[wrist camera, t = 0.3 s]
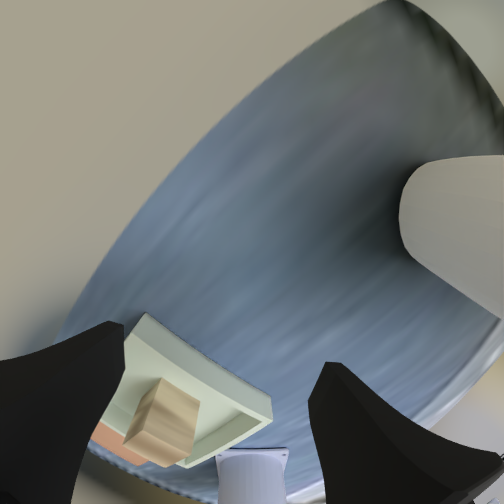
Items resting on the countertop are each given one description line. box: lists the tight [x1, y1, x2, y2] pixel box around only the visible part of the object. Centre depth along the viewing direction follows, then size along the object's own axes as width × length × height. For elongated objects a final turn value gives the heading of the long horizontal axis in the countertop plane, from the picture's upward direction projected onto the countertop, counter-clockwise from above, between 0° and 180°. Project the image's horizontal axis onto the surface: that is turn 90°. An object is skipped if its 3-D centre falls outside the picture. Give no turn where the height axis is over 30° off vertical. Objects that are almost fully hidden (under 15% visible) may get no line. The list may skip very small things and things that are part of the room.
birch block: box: [122, 378, 200, 468], centre depth 18 cm, size 4×4×6 cm
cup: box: [399, 155, 504, 320], centre depth 10 cm, size 8×8×14 cm
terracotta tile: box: [90, 421, 149, 466], centre depth 23 cm, size 9×9×1 cm
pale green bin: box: [100, 312, 273, 469], centre depth 19 cm, size 13×13×3 cm
